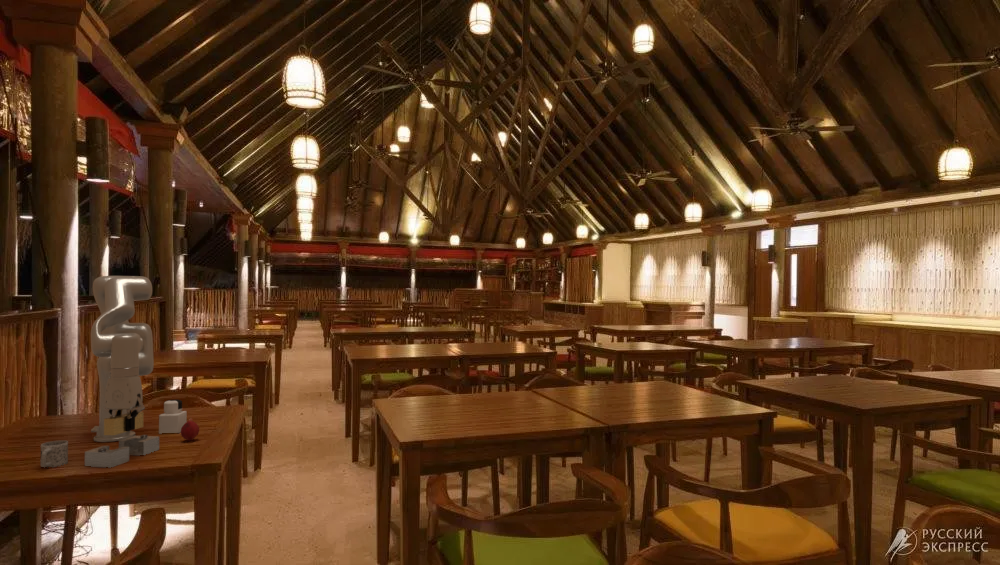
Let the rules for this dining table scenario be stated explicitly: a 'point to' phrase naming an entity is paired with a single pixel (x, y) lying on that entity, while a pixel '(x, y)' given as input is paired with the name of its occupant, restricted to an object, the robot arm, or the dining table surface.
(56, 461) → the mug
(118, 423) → the tan block
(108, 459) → the block
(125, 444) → the block
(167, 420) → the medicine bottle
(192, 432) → the onion
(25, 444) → the dining table surface
